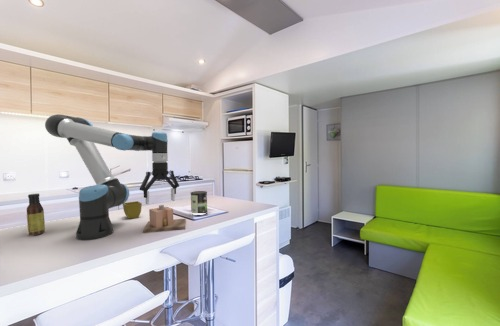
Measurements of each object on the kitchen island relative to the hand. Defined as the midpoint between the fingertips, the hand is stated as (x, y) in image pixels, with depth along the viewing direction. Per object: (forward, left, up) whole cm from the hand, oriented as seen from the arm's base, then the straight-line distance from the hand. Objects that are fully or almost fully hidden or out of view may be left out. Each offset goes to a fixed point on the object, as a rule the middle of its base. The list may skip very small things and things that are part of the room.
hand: (160, 202), depth 124 cm
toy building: (0, 0, -12) cm, 12 cm away
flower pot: (-20, +25, -13) cm, 35 cm away
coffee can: (+20, +22, -13) cm, 33 cm away
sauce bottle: (-59, +5, -13) cm, 60 cm away
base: (+2, 0, -13) cm, 13 cm away
